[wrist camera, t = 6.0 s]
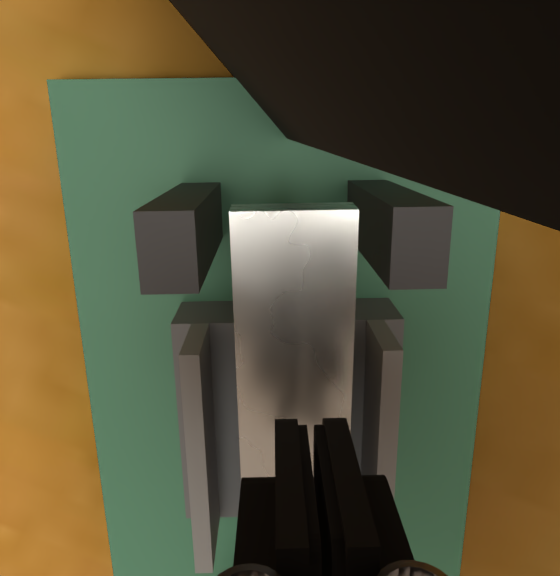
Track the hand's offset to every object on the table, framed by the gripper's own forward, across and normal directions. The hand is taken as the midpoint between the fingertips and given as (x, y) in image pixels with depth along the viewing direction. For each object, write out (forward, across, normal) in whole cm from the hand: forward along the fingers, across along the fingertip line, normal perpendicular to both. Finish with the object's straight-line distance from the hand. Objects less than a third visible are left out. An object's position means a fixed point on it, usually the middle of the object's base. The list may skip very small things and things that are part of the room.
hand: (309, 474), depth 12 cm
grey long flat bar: (+3, 0, +3) cm, 5 cm away
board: (+10, 0, +2) cm, 10 cm away
